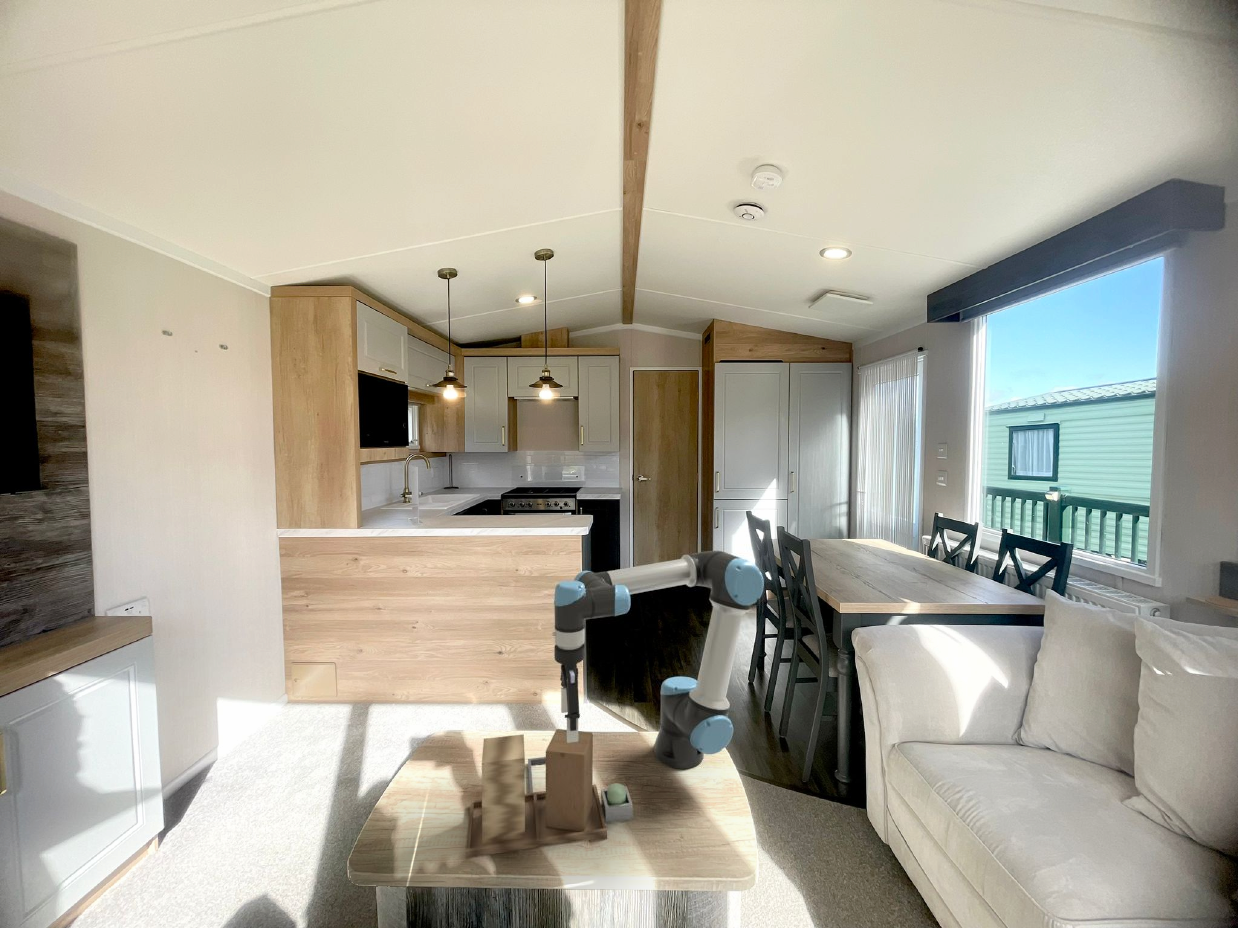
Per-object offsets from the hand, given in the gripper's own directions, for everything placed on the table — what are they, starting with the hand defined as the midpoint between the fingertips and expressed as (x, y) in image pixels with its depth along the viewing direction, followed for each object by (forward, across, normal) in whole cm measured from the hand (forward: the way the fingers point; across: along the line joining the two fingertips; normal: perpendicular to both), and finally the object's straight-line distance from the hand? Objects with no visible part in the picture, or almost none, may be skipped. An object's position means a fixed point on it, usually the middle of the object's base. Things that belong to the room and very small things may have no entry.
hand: (569, 725), depth 132 cm
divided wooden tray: (+24, 0, -8) cm, 26 cm away
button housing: (+24, 0, +12) cm, 27 cm away
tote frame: (+24, -16, -2) cm, 30 cm away
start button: (+22, 0, +12) cm, 25 cm away
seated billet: (+24, 0, -16) cm, 29 cm away
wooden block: (+24, 0, 0) cm, 24 cm away
